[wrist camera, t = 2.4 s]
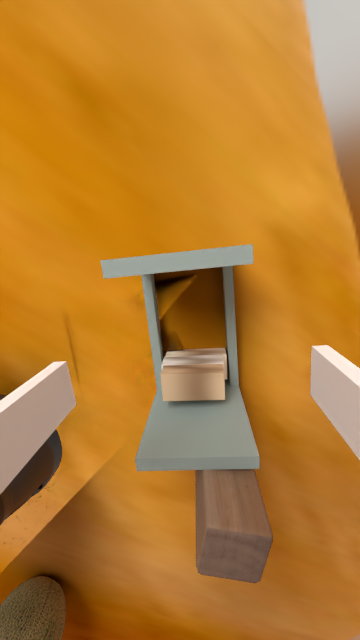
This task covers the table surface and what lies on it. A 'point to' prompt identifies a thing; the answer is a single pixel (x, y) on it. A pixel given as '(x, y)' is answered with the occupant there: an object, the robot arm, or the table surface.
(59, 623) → the fruit
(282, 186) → the table surface
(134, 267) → the rack
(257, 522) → the wooden block
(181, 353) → the offcut low
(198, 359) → the offcut mid
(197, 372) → the offcut top
